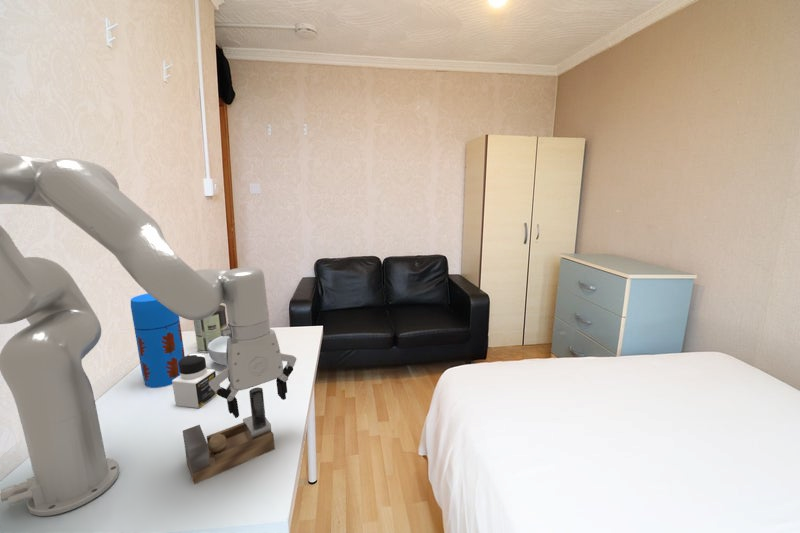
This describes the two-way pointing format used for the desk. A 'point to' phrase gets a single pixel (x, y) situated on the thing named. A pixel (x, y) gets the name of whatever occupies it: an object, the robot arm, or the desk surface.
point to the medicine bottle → (193, 382)
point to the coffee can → (210, 329)
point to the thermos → (157, 340)
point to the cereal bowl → (218, 350)
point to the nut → (217, 443)
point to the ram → (256, 416)
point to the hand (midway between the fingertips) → (259, 405)
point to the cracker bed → (232, 455)
